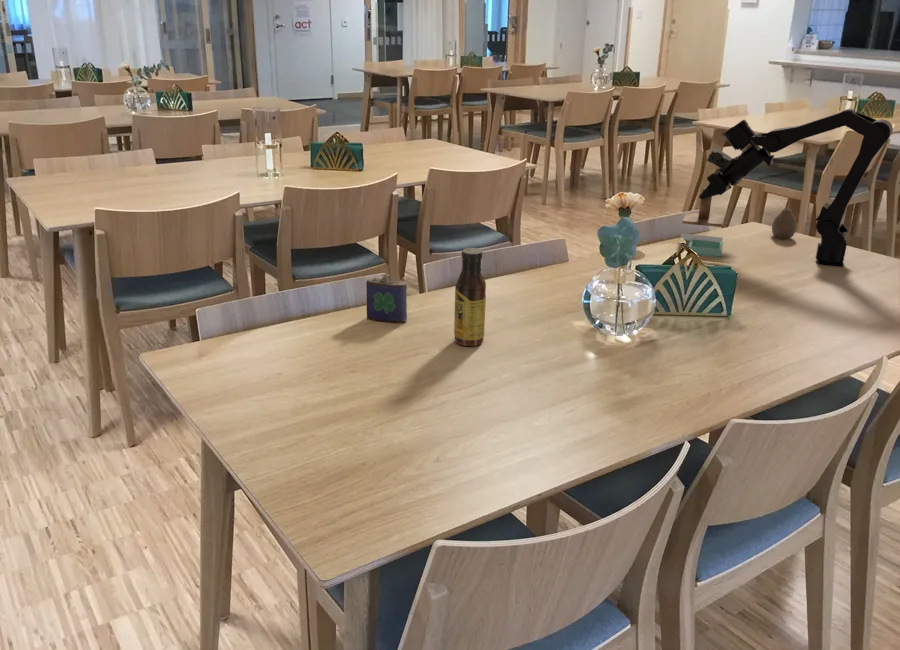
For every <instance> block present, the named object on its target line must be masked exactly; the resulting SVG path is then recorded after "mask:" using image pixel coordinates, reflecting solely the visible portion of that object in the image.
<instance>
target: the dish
mask: <svg viewBox="0 0 900 650" xmlns="http://www.w3.org/2000/svg"><path fill="white" fill-rule="evenodd" d="M688 247H689V248H690V249H692V250H693V251H694V252H696V253H697V254H698V255H697V256H700V257H701V256H702V257H709V258H710V257H711V258H718V259H719V258H722V251H723V247H724V241H722V242H718V241H709V240H699V239H691V240H690V243H689V245H687V248H688Z"/></svg>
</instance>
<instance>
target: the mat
mask: <svg viewBox="0 0 900 650" xmlns="http://www.w3.org/2000/svg"><path fill="white" fill-rule="evenodd" d="M680 238H684V240H685V241H686V244H687V246H689V243H690V240H691V239H699V240H709V241H718V242H723V237H721V236H720V237H719V236H710V235H701V234H700V235H699V234H690V233H681V235H680ZM680 238H679V239H680ZM686 244H685V245H686Z"/></svg>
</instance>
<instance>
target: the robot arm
mask: <svg viewBox="0 0 900 650" xmlns="http://www.w3.org/2000/svg"><path fill="white" fill-rule="evenodd" d="M842 127H847V128H848V129H851V130H852V131H854V132H855V133H857V134H859V135H861V136H863V138H862V141H861V143H860V148H859V151H858V154H857V156H856V158H855V160H854V162H853V164H852V165H851V167H850V169H849V170H848V173H847V175H846V177H845V178H844V181H843V182H842V184H841V186H840V188H839V190H838V192H837V193H836V194H835V197H834V200H833V201H832V202H831V203H830V204H829V203H828V202H825V203H824V204H823V206H822V207H821V209H820V213H819V215H818V216H817V217H816V218H815V219H814V220H815V221H816V224H815V228H816V229H815V230H816V231H817V233H818V234H819V235H820V236H821V238H820V239H821V240H820V242H818V243H817V246H816V247H817V248H816V253H815V259H816V260H817V264H818V265H830V266H837V267H838V266H839V267H844V266H845V263H844V260H845V256H846V255H845V254H846V251H847V247H848V246H847V245H848V241H847V240H846V239H847V236H849V233H850V231H849V230H848V228H847V227H846V226H845V225H844V223H843V222H844V219H845V216H846V214H847V210H848V206H849V204H850V202H851V200H852V198H853V196H854V194H855V192H856V190H857V189H858V187H859V185H860V183H861V182H862V179H863V177H864V176H865V174H866V172H867V170H868V169H869V167H870V165H871V163H872V161H873V160H874V157H876V155H877V154H878V152H879V151H880V150H881V149H882V147H884V145H885V143H886V142H887V141H888V140H889V139H890V137H891V136H892V134H893V130H894V128H893V125H892V123H891V122H890V121H889V120H887V119H881V118H879V119H876V118H873V117H871V116H868V115H865V114H863V113H860V112H858V111H856V110H854V109H852V108H847V109H844V110H843V111H840V112H838V113H837V112H836V113H834V114H831V115H828V116H825V117H821V118H818V119H816V120H812V121H810V122H806V123H804V124H800V125H796V126H785V127H781V128H775V129H773V130H770V131H768V132H763V133H762V132H758V133H755V131H754V130H753V128H751V126H750V125H749V122H747V120H746V119H742V120H741V121H740V122H738V123H736V124H735V125H733V126H732V127H730V128H729V129H727V131H725V132H724V133H723V134H722V135H723V137H724V138H725V139H726V140H727V142H728V143H729V144H730V145H731V147H732V148H733V149H734V150H735V151H737V150H739V151H740V152H741V151H743V150H744V149H746V148H747V147H748V146H750V145H751V146H750V147H748V148H747V149H746V150H744V151H743V152H741V153H740V154H739V155H737V156H734V157H731V156H730V155H728V154H727V153H724V151H722V150H720V149H718V148H715V149H713V150H712V151H711V153H710V154H708V157H707V158H706V161H707V162H709V163H712V164H713V165H715V166H716V167H718V171H715V172H712V173H711V174H710V175H708V176H707V177H706V179H707V181H708V182H709V184H708V185H707V186H706V187H705V188H706V189H705V190H704V191H703V192H702V191H701V193H700V195H698V197H699V199H700V200H701V199H705V198H708V197H712V198H713V197H715V196H718V195H719V196H721V195H723V194H724V193H726V192H728V191H729V190H731V188H732V186H733V187H735V186H737V185H738V184H740V183H741V182H742V181H743V180H742V179H744V178H745V177H747V176H748V175H749V174H751V173H752V172H753V171H754V170H756V169H757V168H759V167H760V166H761V165H762V164H763V163H765V164H766V165H767V167H770V166H772V165H773V164H774V158H775V155H774V154H771V153H777V152H780V151H782V150H784V149H786V148H787V147H789V146H791V145H793V144H795V143H797V142H799V141H801V140H805V139H808V138H811V137H815V136H817V135H819V134H822V133H823V134H824V133H827V132H829V131H833V130H836V129H839V128H842ZM769 153H770V154H769Z"/></svg>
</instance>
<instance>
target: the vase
mask: <svg viewBox="0 0 900 650" xmlns="http://www.w3.org/2000/svg"><path fill="white" fill-rule="evenodd" d="M797 225H798V223H797V219H796V217H795V216H794V214H793V211H792V209H790V208H783V209H782V210H781V212H779V213H778V214H777V216H776V217H774V219H773V222H772V224H771V231H772V235H773V237H774V238H775V239H778V240H783V241H786V240H790V239H791V238H792V237H794V235H795V234H796V231H797Z"/></svg>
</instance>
